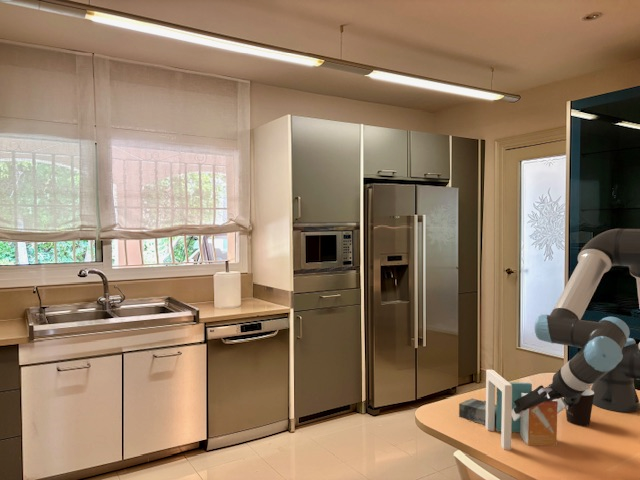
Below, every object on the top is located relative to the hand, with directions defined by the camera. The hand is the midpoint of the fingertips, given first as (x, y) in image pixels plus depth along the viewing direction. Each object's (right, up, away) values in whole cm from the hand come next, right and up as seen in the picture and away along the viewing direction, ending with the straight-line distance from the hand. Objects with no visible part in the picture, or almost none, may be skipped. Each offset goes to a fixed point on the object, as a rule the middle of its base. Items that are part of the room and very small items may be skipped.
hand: (532, 414), depth 141 cm
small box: (+1, -7, -2) cm, 8 cm away
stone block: (-9, -7, +13) cm, 17 cm away
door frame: (-10, -7, 0) cm, 12 cm away
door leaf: (-4, -6, +3) cm, 8 cm away
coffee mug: (+20, -7, +13) cm, 25 cm away
